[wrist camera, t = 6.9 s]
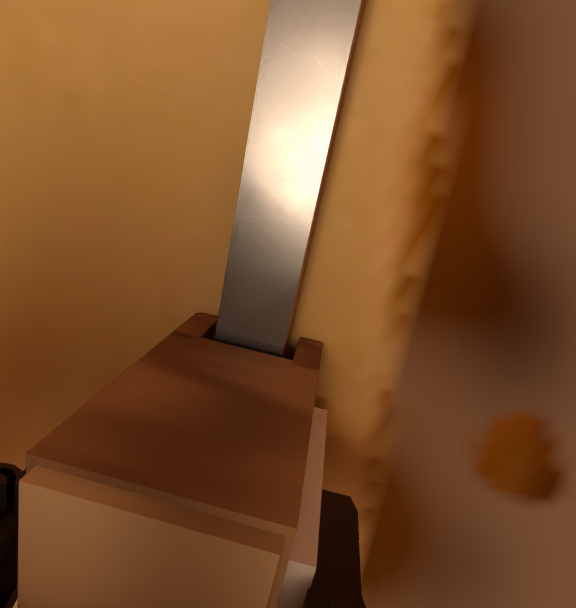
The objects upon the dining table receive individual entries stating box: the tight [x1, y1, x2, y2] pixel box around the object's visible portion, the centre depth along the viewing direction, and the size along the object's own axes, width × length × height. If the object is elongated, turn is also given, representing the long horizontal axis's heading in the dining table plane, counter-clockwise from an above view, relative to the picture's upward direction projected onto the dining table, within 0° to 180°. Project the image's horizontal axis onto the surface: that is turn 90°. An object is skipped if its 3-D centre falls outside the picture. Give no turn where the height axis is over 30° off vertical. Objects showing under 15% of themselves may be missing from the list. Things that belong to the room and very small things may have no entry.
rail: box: [214, 0, 365, 358], centre depth 13 cm, size 4×41×4 cm, turn 168°
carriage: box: [18, 313, 323, 608], centre depth 12 cm, size 5×7×9 cm
